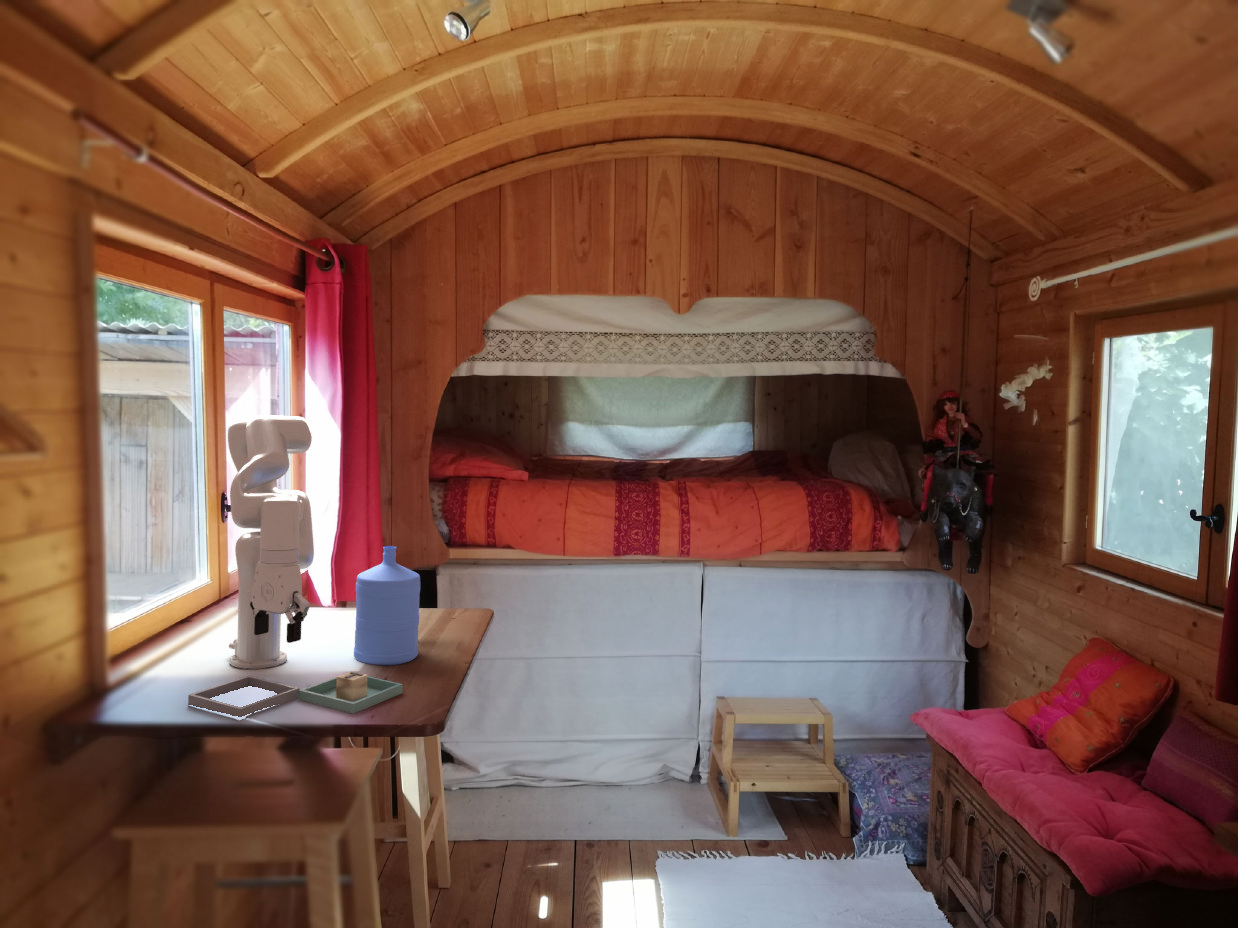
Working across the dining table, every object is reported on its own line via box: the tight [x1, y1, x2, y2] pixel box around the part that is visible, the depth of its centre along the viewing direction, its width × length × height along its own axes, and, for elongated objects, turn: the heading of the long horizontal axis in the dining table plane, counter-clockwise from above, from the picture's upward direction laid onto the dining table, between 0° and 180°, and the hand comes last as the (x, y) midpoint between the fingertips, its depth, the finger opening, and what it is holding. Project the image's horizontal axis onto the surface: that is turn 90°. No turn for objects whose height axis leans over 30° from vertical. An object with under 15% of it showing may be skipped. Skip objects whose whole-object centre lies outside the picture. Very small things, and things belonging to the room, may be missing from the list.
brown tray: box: [187, 675, 300, 717], centre depth 174 cm, size 15×15×2 cm
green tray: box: [298, 675, 403, 715], centre depth 180 cm, size 15×15×2 cm
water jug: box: [353, 545, 421, 666], centre depth 209 cm, size 16×16×28 cm
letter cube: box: [336, 670, 369, 701], centre depth 180 cm, size 4×4×5 cm
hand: (277, 637), depth 175 cm, fingers open, 9 cm apart
